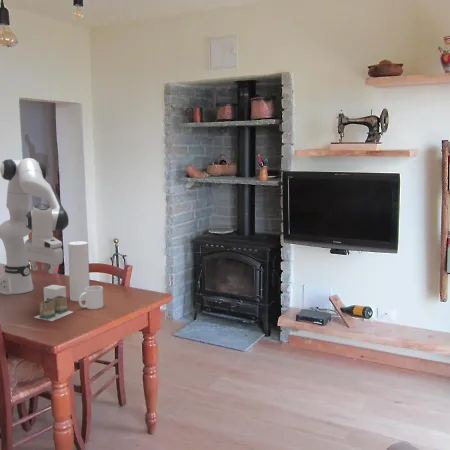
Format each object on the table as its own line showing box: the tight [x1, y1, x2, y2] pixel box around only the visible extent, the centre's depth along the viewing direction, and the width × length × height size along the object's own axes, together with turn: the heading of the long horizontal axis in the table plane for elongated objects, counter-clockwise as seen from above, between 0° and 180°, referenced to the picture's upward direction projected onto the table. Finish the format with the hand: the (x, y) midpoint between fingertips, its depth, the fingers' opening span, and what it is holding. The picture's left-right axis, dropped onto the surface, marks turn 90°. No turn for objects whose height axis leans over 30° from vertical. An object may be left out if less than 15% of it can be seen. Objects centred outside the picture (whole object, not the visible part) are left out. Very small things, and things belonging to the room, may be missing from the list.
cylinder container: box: [67, 240, 90, 302], centre depth 258 cm, size 9×9×30 cm
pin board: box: [33, 310, 74, 322], centre depth 235 cm, size 11×14×6 cm
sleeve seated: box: [52, 296, 69, 314], centre depth 239 cm, size 5×5×7 cm
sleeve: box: [38, 300, 55, 320], centre depth 232 cm, size 5×5×7 cm
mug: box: [78, 285, 104, 310], centre depth 246 cm, size 12×8×10 cm
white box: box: [43, 284, 67, 301], centre depth 252 cm, size 8×7×9 cm
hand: (43, 271), depth 231 cm, fingers open, 8 cm apart
